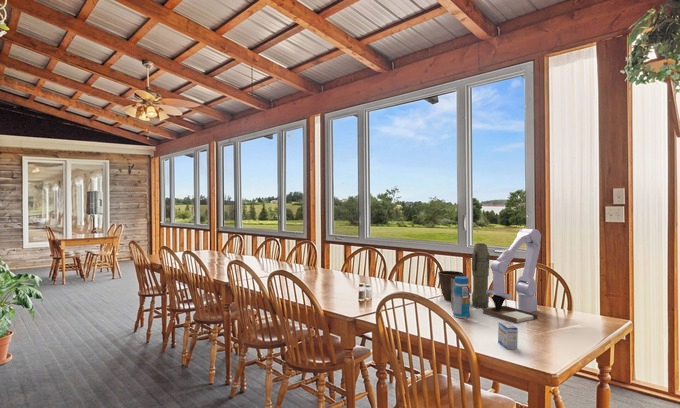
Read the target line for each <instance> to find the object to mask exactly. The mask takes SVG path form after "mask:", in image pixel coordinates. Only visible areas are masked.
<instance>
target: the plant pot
mask: <svg viewBox="0 0 680 408" xmlns="http://www.w3.org/2000/svg"><path fill="white" fill-rule="evenodd" d="M456 276H465V273H464V272H461V271H455V270H440V271H438V281H439V285H440V289H441V290H440V291H441V293H442V296H443V299H444V300H445V301H450V302H451V279H455V277H456Z"/></svg>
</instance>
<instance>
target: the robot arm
mask: <svg viewBox="0 0 680 408" xmlns="http://www.w3.org/2000/svg"><path fill="white" fill-rule="evenodd" d="M541 239H542V234H541V232H540V230H538V229H531V228H525V227H523V228H520V229H519V231H517V233H516V237H515V239H514V240H513V241H512V244H510V246H509V248H508V249H504V250H503V251H502V253H501V254H500V255H499V256H498V257H497V258H496V260H493V262H492V263H491V264H490V265H489V268H490V269H491V273H492V289H488V290H486V294H489V295H492V296H491V300H492V301H493V303H494V307H496V310H497V311H500V310H501V307H502V306H503V304H504V303H505V301H506V299H507V300H512V299H513V298H512V297H513V295H512V294H509V293H507V292H505V290H506V288H505V284H506V283H505V279H506V278H505V277H506V276H505V275H506V272H507V271H508V267H509V264H510V263H511V262H512V260H513V259H514V258H515V253H516V252H517V251H518V250H519V249H520V247H522V246H523V244H526V245H527V247H528V248H527V252H526V257H525V261H524V262H525V263H524V266H523V272H522V275H521V276H519V277H518V278H517V281H516V283H515V284H514V289H515V291H516V292H517V295H518V296H517V300H518V301H517V302H518V303H517V305H518V306H517V309H519V310H523V311H527V312H530V313H533V312H538V299H537V296H536V295H535V294H536V293H537V284H538V283H537V281H536V280H535V278H534V277H535V272H536V268H537V263H538V259H539V254H540V249H541Z"/></svg>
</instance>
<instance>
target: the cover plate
mask: <svg viewBox="0 0 680 408" xmlns="http://www.w3.org/2000/svg"><path fill="white" fill-rule="evenodd" d="M503 315H507V316H510V317H513V318H517V322H521V321H526V320H531V319H533V316H532V315H528V314H524V313H521V312H517V311H514V312H509V313H503ZM531 321H532V320H531ZM526 322H527V321H526ZM521 323H522V322H521Z"/></svg>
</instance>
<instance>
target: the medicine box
mask: <svg viewBox="0 0 680 408" xmlns="http://www.w3.org/2000/svg"><path fill="white" fill-rule="evenodd" d="M518 329H519V328H518V327H517V326H515V325H513V324H511V322H509V321H499V322H498V329H497V330H498V331H497V333H498V334H497V336H498V337H497V343H498V344H499V343H500V344H499V345H500V346H502V347H503V348H505V349H506V350H517V349H518V341H519V340H518V334H519V333H518V332H519V331H518Z"/></svg>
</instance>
